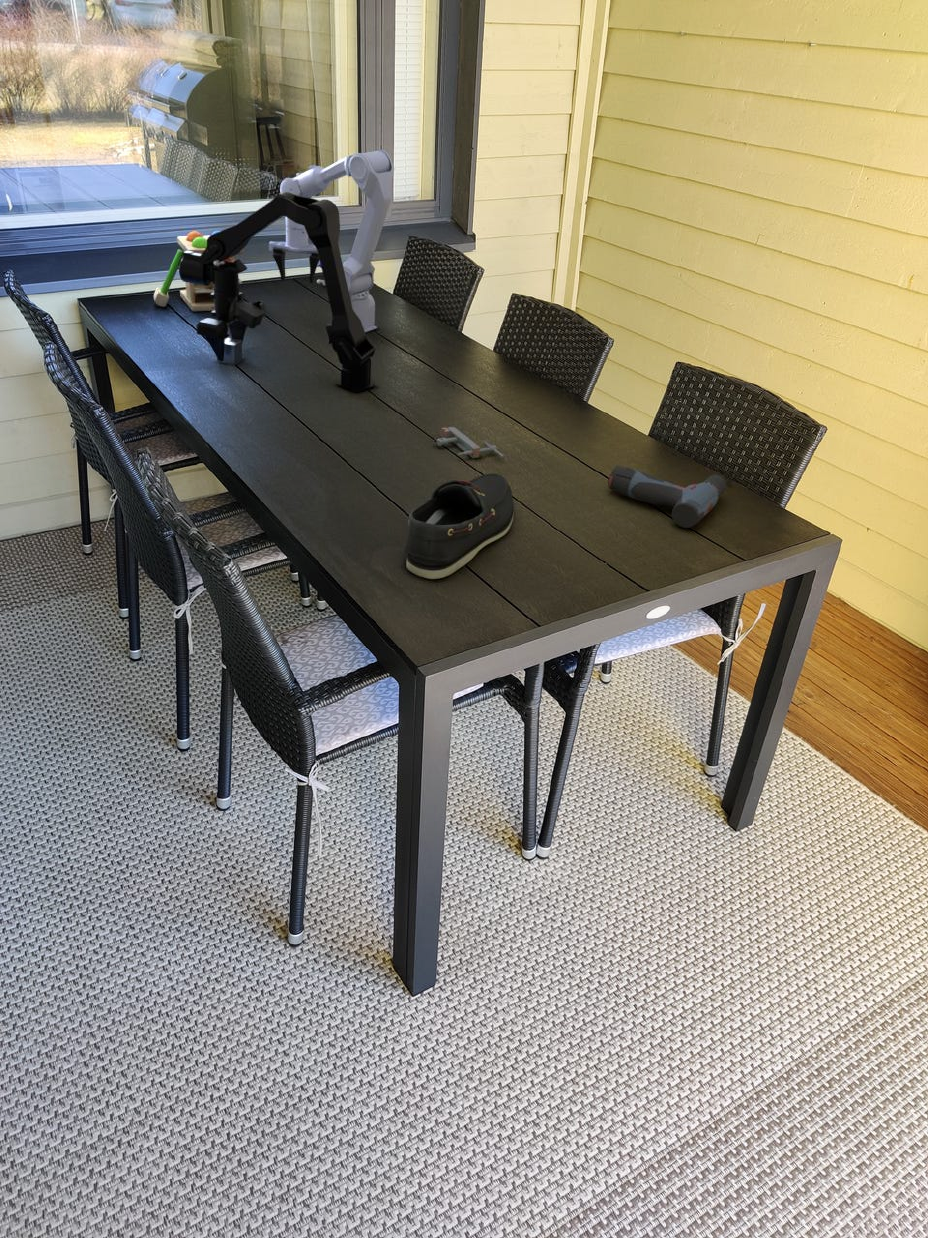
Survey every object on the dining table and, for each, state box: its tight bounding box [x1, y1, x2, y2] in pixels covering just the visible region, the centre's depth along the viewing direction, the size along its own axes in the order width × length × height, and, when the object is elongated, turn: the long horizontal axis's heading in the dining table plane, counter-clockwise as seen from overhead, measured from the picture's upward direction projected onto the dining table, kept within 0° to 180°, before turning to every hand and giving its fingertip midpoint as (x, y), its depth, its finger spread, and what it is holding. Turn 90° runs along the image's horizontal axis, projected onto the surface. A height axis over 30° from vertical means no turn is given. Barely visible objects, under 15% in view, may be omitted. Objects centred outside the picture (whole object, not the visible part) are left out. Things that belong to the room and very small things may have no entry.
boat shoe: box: [403, 472, 515, 580], centre depth 170 cm, size 13×33×10 cm, turn 147°
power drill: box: [607, 465, 727, 529], centre depth 189 cm, size 5×19×20 cm
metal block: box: [216, 337, 243, 366], centre depth 232 cm, size 4×4×5 cm
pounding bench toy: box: [153, 230, 244, 312], centre depth 261 cm, size 23×14×18 cm, turn 116°
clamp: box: [436, 426, 507, 460], centre depth 201 cm, size 15×2×10 cm
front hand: (229, 355), depth 232 cm, fingers open, 8 cm apart
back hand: (297, 280), depth 262 cm, fingers open, 7 cm apart
